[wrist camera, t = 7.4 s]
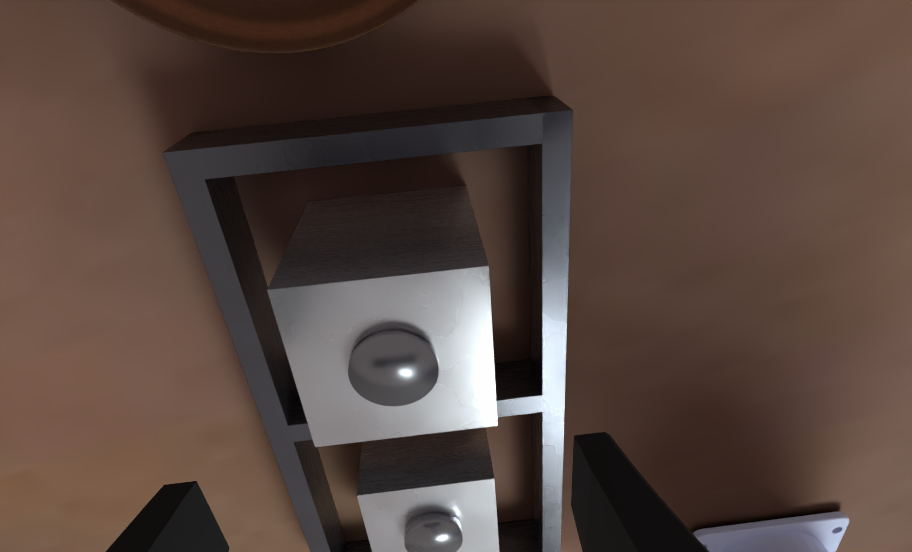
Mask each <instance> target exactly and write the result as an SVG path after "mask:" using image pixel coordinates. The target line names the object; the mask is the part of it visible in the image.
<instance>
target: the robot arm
mask: <svg viewBox="0 0 912 552" xmlns="http://www.w3.org/2000/svg"><path fill="white" fill-rule="evenodd" d="M571 506H572V511H573V515H574V519H575V523H576V527H577V531H578V535H579V539H580V543H581V547H582V550H583V552H836V549H837V547H838V545H839V543H840V541H841V539H842V537H843V534H844V532H845V530H846V528H847V526H848V524H849V518H848V517H847V516H846V515H845V513H843V512H840V511H837V512H829V513H821V514H813V515H806V516H798V517H790V518H782V519H774V520H767V521H759V522H751V523H743V524H735V525H728V526H720V527H712V528H704V529H699V530H697V531H695V532H694V533H692V532H691V531H690V530H689V529H688V528H687V527H686V526H685V525H684V524H683V522H682V521H681V520H680V519H679V518H678V517H677V516H676V515H675V514H674V513H673V511H672V510H671V509H670V508H669V507H668V506H667V505H666V504H665V502H664V501H663V500H662V499H661V498H660V497H659V495H658V494H657V493H656V492H655V491H654V490H653V488H652V487H651V486H650V485H649V484H648V482H647V481H646V480H645V479H644V478H643V476H642V475H641V474H640V473H639V472H638V470H637V469H636V468H635V467H634V465H633V464H632V463H631V462H630V460H629V459H628V458H627V457H626V455H625V454H624V453H623V452H622V450H621V449H620V448H619V446H618V445H617V444H616V442H615V441H614V440H613V438H612V437H611V436H610V435H609V434H607V433H606V432H601V433H592V434H584V435H576V436H574V447H573V472H572V497H571ZM106 552H229V546H228V544H227V542H226V540H225V538H224V536H223V534H222V532H221V530H220V528H219V525H218V523H217V521H216V519H215V517H214V515H213V513H212V511H211V509H210V507H209V505H208V503H207V501H206V499H205V497H204V495H203V493H202V491H201V489H200V487H199V485H198V483H197V481H193V482H184V483H176V484H168V485H164V486H163V487H162V488H161V489H160V490H159V491H158V492H157V494H156V495H155V496H154V497H153V498H152V499H151V500H150V501H149V503H148V504H147V505H146V506H145V507H144V508H143V509H142V511H141V512H140V513H139V514H138V515H137V516H136V517H135V519H134V520H133V521H132V522H131V523H130V524H129V526H128V527H127V528H126V529H125V530H124V531H123V532H122V534H121V535H120V536H119V537H118V538H117V539H116V541H115V542H114V543H113V544H112V545H111V546H110V547H109V549H108V550H107V551H106Z"/></svg>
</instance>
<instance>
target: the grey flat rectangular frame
mask: <svg viewBox="0 0 912 552" xmlns="http://www.w3.org/2000/svg"><path fill="white" fill-rule="evenodd" d="M572 116H573V110H572V109H571V108H569V107H568V106H567V105H566V104H564V103H563V102H562V101H560V100H559V99H558V98H556V97H555V96H545V97H535V98H526V99H516V100H506V101H497V102H487V103H477V104H468V105H458V106H448V107H439V108H429V109H419V110H409V111H400V112H390V113H380V114H371V115H361V116H351V117H342V118H332V119H322V120H313V121H303V122H293V123H284V124H274V125H264V126H255V127H245V128H235V129H226V130H216V131H206V132H197V133H191V134H189V135H188V136H186V137H185V138H183V139H182V140H181V141H179V142H178V143H176V144H175V145H173V146H172V147H170V148H169V149H167V150H166V151H165V152H163V154H164V157H165V160H166V163H167V165H168V168H169V171H170V173H171V176H172V179H173V181H174V184H175V187H176V190H177V192H178V195H179V198H180V200H181V203H182V206H183V208H184V211H185V214H186V217H187V219H188V222H189V225H190V227H191V230H192V233H193V235H194V238H195V241H196V244H197V246H198V249H199V252H200V254H201V257H202V260H203V263H204V265H205V268H206V271H207V273H208V276H209V279H210V281H211V284H212V287H213V290H214V292H215V295H216V298H217V300H218V303H219V306H220V308H221V311H222V314H223V317H224V319H225V322H226V325H227V327H228V330H229V333H230V335H231V338H232V341H233V344H234V346H235V349H236V352H237V354H238V357H239V360H240V363H241V365H242V368H243V371H244V373H245V376H246V379H247V381H248V384H249V387H250V390H251V392H252V395H253V398H254V400H255V403H256V406H257V408H258V411H259V414H260V417H261V419H262V422H263V425H264V427H265V430H266V433H267V436H268V438H269V441H270V444H271V446H272V449H273V452H274V454H275V457H276V460H277V463H278V465H279V468H280V471H281V473H282V476H283V479H284V481H285V484H286V487H287V490H288V492H289V495H290V498H291V500H292V503H293V506H294V508H295V511H296V514H297V517H298V519H299V522H300V525H301V527H302V530H303V533H304V536H305V538H306V541H307V544H308V546H309V549H310V552H372V549H371V546H370V542H369V540H367V541H359V542H351V543H346V540H345V536H344V533H343V530H342V527H341V524H340V520H339V517H338V514H337V511H336V507H335V504H334V501H333V498H332V494H331V491H330V488H329V485H328V481H327V478H326V475H325V472H324V468H323V465H322V462H321V459H320V455H319V452H318V449H317V447H315V445H314V442H313V439H312V436H311V432H310V429H309V426H308V423H307V419H306V416H305V413H304V409H303V406H302V403H301V400H300V396H299V393H298V390H297V387H296V383H295V380H294V377H293V373H292V370H291V367H290V364H289V360H288V357H287V354H286V350H285V347H284V344H283V341H282V337H281V334H280V331H279V328H278V324H277V321H276V318H275V314H274V311H273V308H272V305H271V301H270V298H269V295H268V292H267V289H268V287H267V284H266V280H265V277H264V274H263V271H262V267H261V264H260V261H259V258H258V254H257V251H256V248H255V245H254V241H253V238H252V235H251V232H250V228H249V225H248V222H247V219H246V215H245V212H244V209H243V206H242V203H241V199H240V196H239V193H238V190H237V186H236V183H235V180H234V177H233V176H241V175H250V174H260V173H269V172H279V171H288V170H297V169H307V168H316V167H326V166H335V165H345V164H354V163H364V162H373V161H382V160H392V159H401V158H411V157H420V156H430V155H439V154H449V153H458V152H467V151H477V150H486V149H496V148H505V147H515V146H524V145H528V193H529V260H530V328H531V360H524V361H516V362H508V363H499V364H494V368H495V386H496V404H497V417H504V416H513V415H521V414H529V413H532V462H533V520H525V521H517V522H509V523H501V524H498V538H499V552H560V551H561V515H562V479H563V442H564V406H565V370H566V333H567V297H568V261H569V225H570V188H571V152H572Z"/></svg>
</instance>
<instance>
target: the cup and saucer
mask: <svg viewBox="0 0 912 552" xmlns="http://www.w3.org/2000/svg"><path fill="white" fill-rule="evenodd" d="M111 1H113V2H114V3H116V4H118V5H120V6H121V7H123V8H125V9H126V10H128V11H130V12H131V13H133V14H135V15H136V16H138V17H140V18H143V19H145V20H147V21H149V22H151V23H153V24H155V25H157V26H159V27H161V28H163V29H166V30H168V31H171V32H173V33H176V34H178V35H181V36H184V37H186V38H189V39H192V40H196V41H199V42H202V43H206V44H209V45H213V46H217V47H222V48H227V49H233V50H238V51H246V52H257V53H295V52H303V51H312V50H318V49H322V48H326V47H331V46H335V45H339V44H342V43H345V42H347V41H350V40H353V39H356V38H359V37H361V36H364V35H366V34H368V33H370V32H372V31H374V30H376V29H378V28H380V27H382V26H384V25H386V24H387V23H389V22H390V21H392V20H394V19H395V18H397V17H399V16H400V15H402V14H403V13H405V12H406V11H407V10H409V9H410V8H411V7H412V6H414V5H415V4H416V3H418V2H419V1H420V0H111Z"/></svg>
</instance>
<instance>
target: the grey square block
mask: <svg viewBox="0 0 912 552" xmlns="http://www.w3.org/2000/svg"><path fill="white" fill-rule="evenodd" d="M267 292H268V295H269V298H270V301H271V305H272V308H273V311H274V314H275V318H276V321H277V324H278V328H279V331H280V334H281V337H282V341H283V344H284V347H285V350H286V354H287V357H288V360H289V364H290V367H291V370H292V373H293V377H294V380H295V383H296V387H297V390H298V393H299V396H300V400H301V403H302V406H303V409H304V413H305V416H306V419H307V423H308V426H309V429H310V432H311V436H312V439H313V442H314V445H315V447H321V446H329V445H338V444H346V443H355V442H363V441H372V440H380V439H389V438H397V437H406V436H414V435H423V434H431V433H440V432H448V431H457V430H465V429H474V428H482V427H491V426H498V422H497V404H496V386H495V368H494V350H493V332H492V315H491V297H490V279H489V265H488V261H487V258H486V254H485V251H484V247H483V244H482V240H481V237H480V233H479V230H478V226H477V223H476V219H475V215H474V212H473V208H472V205H471V201H470V198H469V194H468V191H467V187H466V185H463V186H454V187H444V188H435V189H425V190H415V191H406V192H396V193H387V194H377V195H368V196H358V197H349V198H339V199H329V200H320V201H310V202H308V203H307V205H306V207H305V210H304V212H303V214H302V216H301V218H300V220H299V223H298V225H297V227H296V229H295V231H294V233H293V235H292V238H291V240H290V242H289V244H288V246H287V248H286V250H285V253H284V255H283V257H282V259H281V261H280V263H279V266H278V268H277V270H276V272H275V274H274V276H273V278H272V281H271V283H270V285H269V287H268V289H267Z"/></svg>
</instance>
